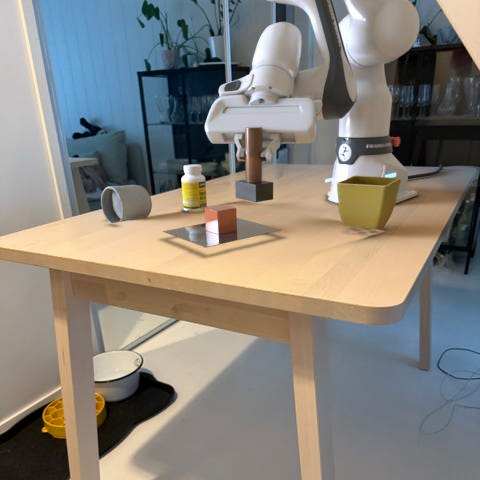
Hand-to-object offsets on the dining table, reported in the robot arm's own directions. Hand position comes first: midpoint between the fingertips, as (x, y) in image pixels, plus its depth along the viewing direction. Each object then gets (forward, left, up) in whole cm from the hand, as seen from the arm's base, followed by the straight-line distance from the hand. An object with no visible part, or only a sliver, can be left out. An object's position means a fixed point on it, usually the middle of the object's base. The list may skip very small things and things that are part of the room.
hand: (252, 159), depth 80 cm
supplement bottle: (-3, -25, -13) cm, 29 cm away
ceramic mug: (+14, -26, -13) cm, 33 cm away
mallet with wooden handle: (0, 0, -7) cm, 7 cm away
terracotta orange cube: (+7, 0, -11) cm, 13 cm away
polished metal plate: (+7, 0, -13) cm, 15 cm away
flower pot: (-15, +14, -13) cm, 24 cm away
